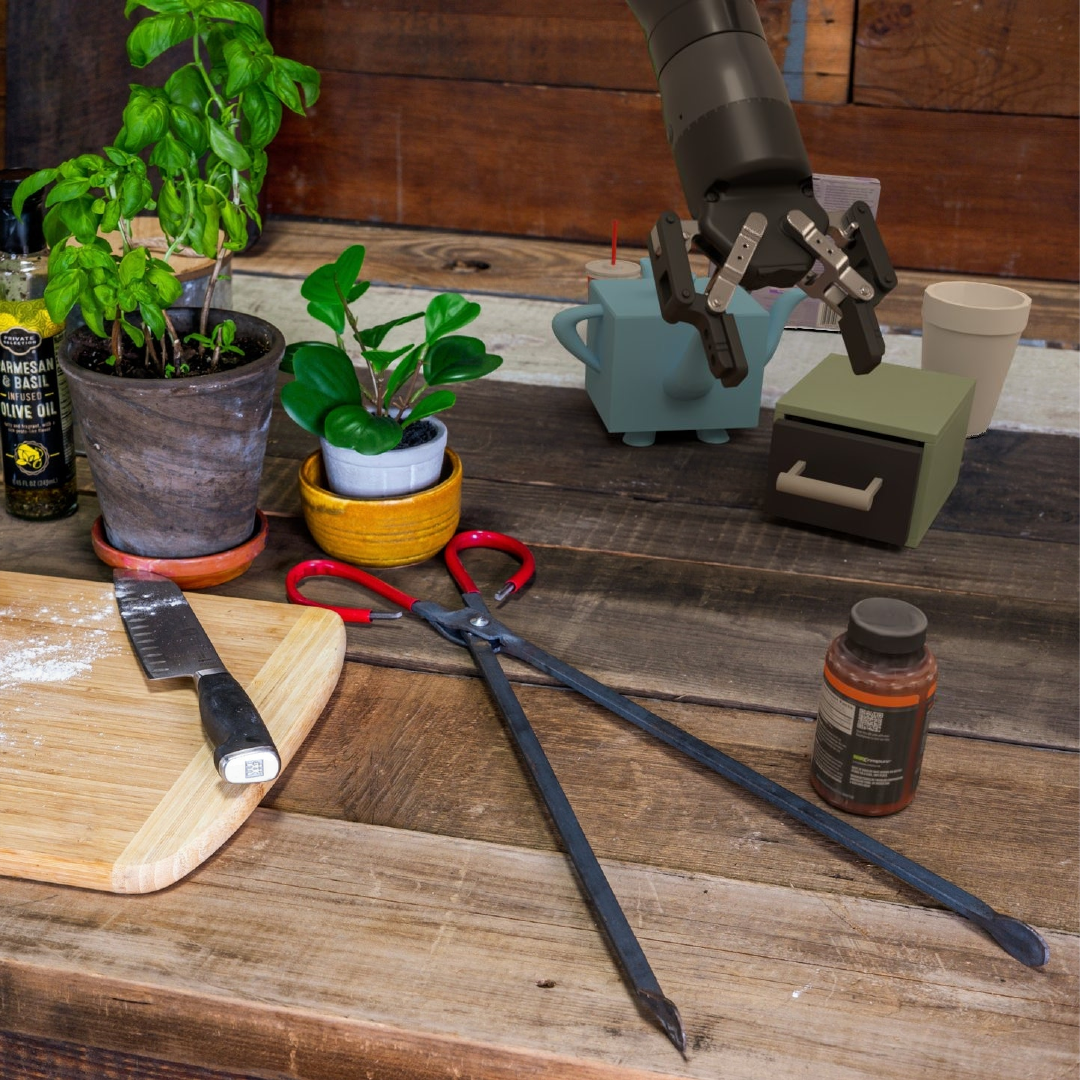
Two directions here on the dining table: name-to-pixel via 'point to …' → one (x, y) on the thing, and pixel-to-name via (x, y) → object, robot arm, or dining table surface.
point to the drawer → (843, 478)
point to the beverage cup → (612, 265)
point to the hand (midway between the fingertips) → (804, 375)
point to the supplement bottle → (874, 709)
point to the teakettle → (667, 360)
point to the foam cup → (973, 338)
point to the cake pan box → (831, 197)
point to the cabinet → (894, 418)
